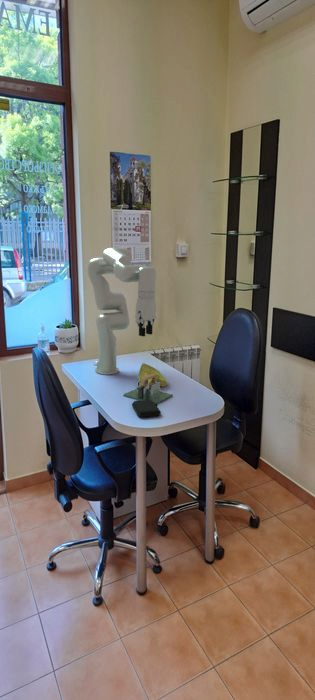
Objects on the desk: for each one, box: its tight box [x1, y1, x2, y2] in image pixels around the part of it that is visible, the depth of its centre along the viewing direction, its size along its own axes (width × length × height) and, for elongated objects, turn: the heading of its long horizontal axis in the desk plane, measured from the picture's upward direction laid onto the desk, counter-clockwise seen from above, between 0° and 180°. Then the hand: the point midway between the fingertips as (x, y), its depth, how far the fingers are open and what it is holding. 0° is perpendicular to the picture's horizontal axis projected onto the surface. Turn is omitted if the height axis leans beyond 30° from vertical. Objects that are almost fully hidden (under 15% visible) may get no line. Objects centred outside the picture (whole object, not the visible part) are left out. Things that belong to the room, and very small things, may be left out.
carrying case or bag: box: [131, 400, 161, 419], centre depth 186 cm, size 11×3×15 cm
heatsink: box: [122, 380, 174, 405], centre depth 204 cm, size 18×15×7 cm
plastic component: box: [138, 362, 169, 388], centre depth 224 cm, size 20×7×10 cm
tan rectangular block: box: [140, 373, 157, 388], centre depth 203 cm, size 2×9×4 cm, turn 147°
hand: (145, 334), depth 204 cm, fingers open, 4 cm apart
